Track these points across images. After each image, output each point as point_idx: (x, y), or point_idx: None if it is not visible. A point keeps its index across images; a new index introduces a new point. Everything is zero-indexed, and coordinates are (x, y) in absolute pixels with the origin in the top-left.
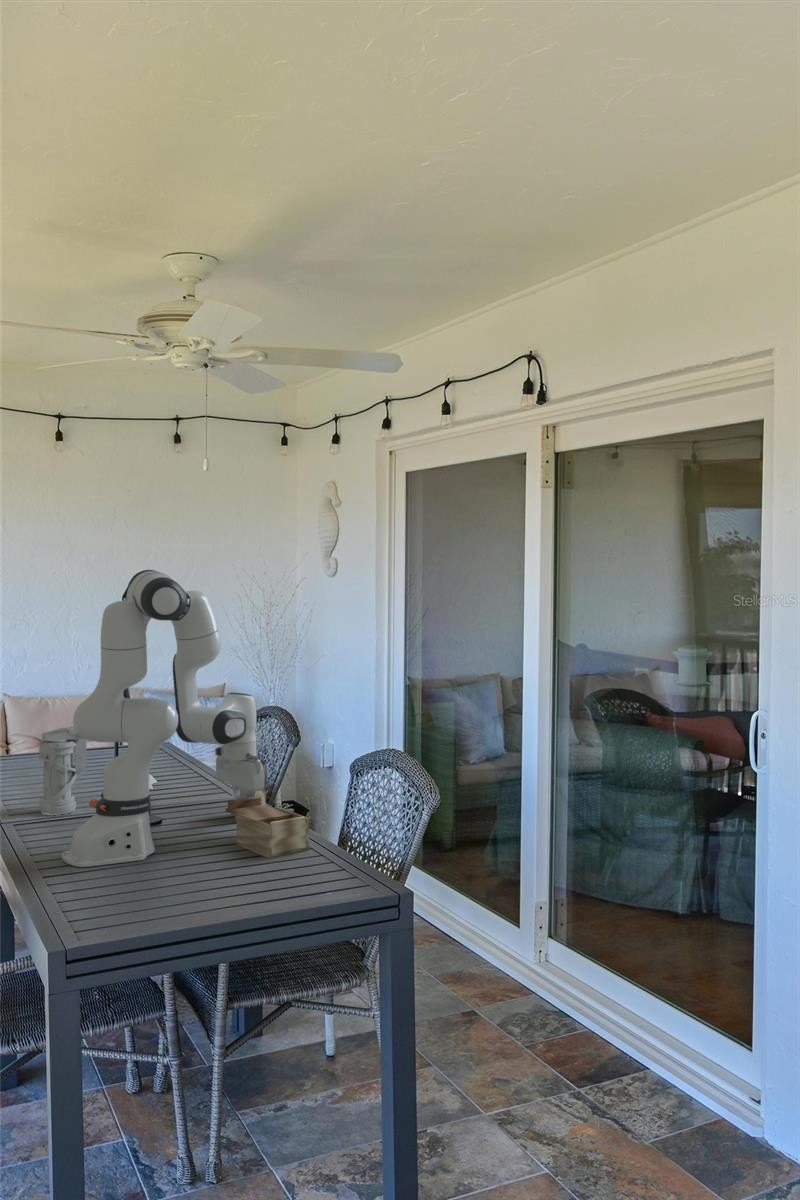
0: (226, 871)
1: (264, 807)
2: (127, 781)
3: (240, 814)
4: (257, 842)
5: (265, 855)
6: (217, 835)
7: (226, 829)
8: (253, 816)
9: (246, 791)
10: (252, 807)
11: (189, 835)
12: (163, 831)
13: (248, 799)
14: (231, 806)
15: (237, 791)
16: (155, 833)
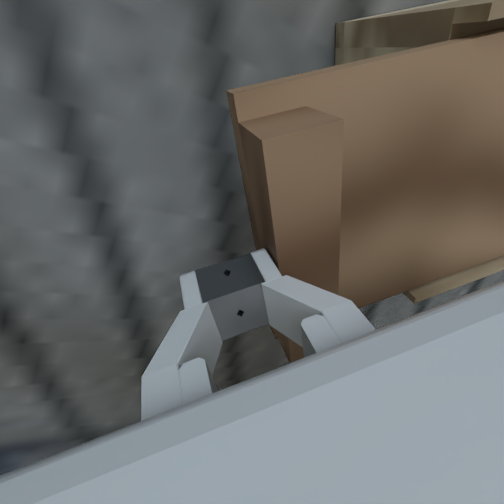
0: (492, 279)
1: (400, 109)
2: None
3: (447, 290)
4: None
5: None
6: (182, 269)
7: (77, 224)
8: (501, 238)
9: (342, 307)
10: (342, 199)
11: (147, 346)
12: (62, 408)
13: (338, 251)
14: None
15: (204, 358)
16: (87, 419)
